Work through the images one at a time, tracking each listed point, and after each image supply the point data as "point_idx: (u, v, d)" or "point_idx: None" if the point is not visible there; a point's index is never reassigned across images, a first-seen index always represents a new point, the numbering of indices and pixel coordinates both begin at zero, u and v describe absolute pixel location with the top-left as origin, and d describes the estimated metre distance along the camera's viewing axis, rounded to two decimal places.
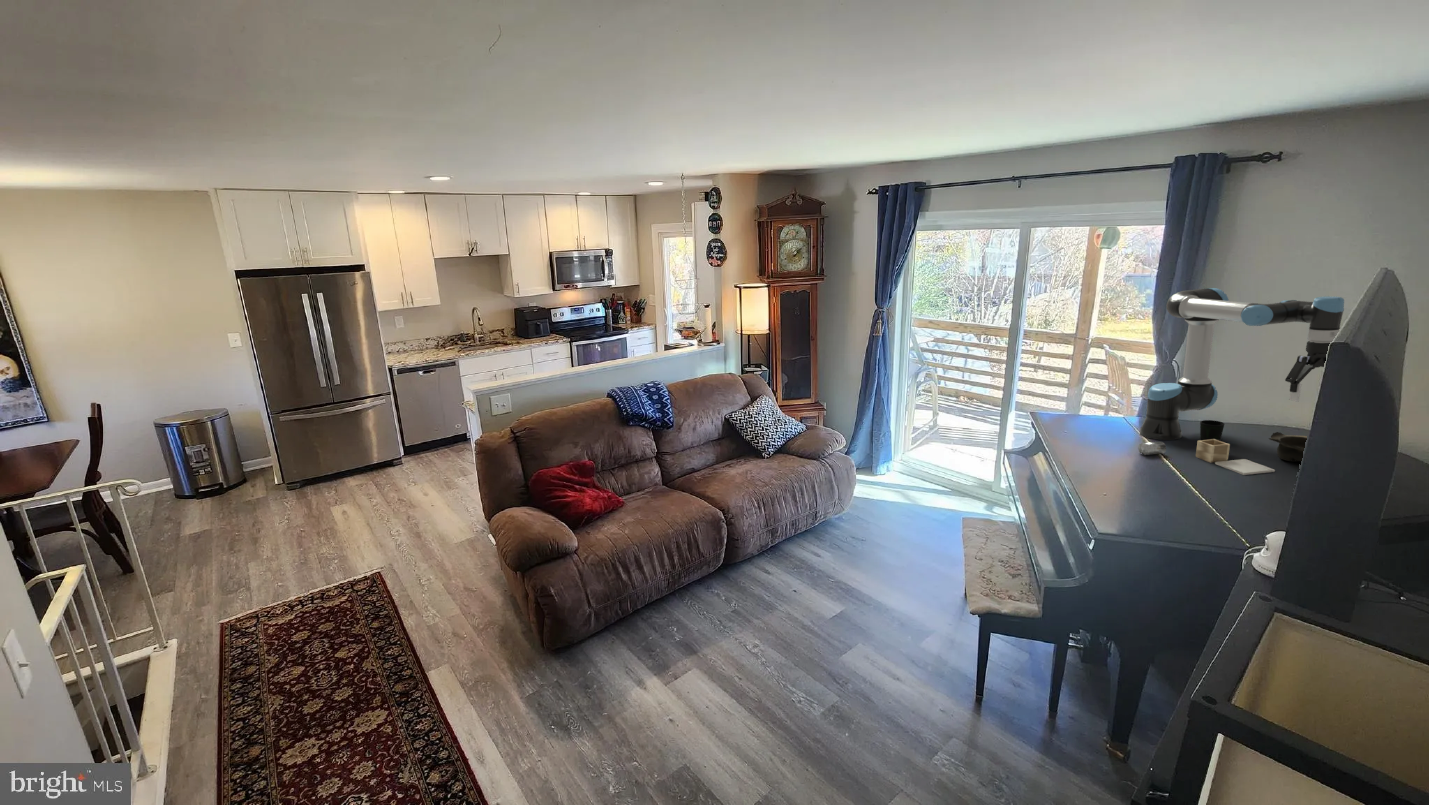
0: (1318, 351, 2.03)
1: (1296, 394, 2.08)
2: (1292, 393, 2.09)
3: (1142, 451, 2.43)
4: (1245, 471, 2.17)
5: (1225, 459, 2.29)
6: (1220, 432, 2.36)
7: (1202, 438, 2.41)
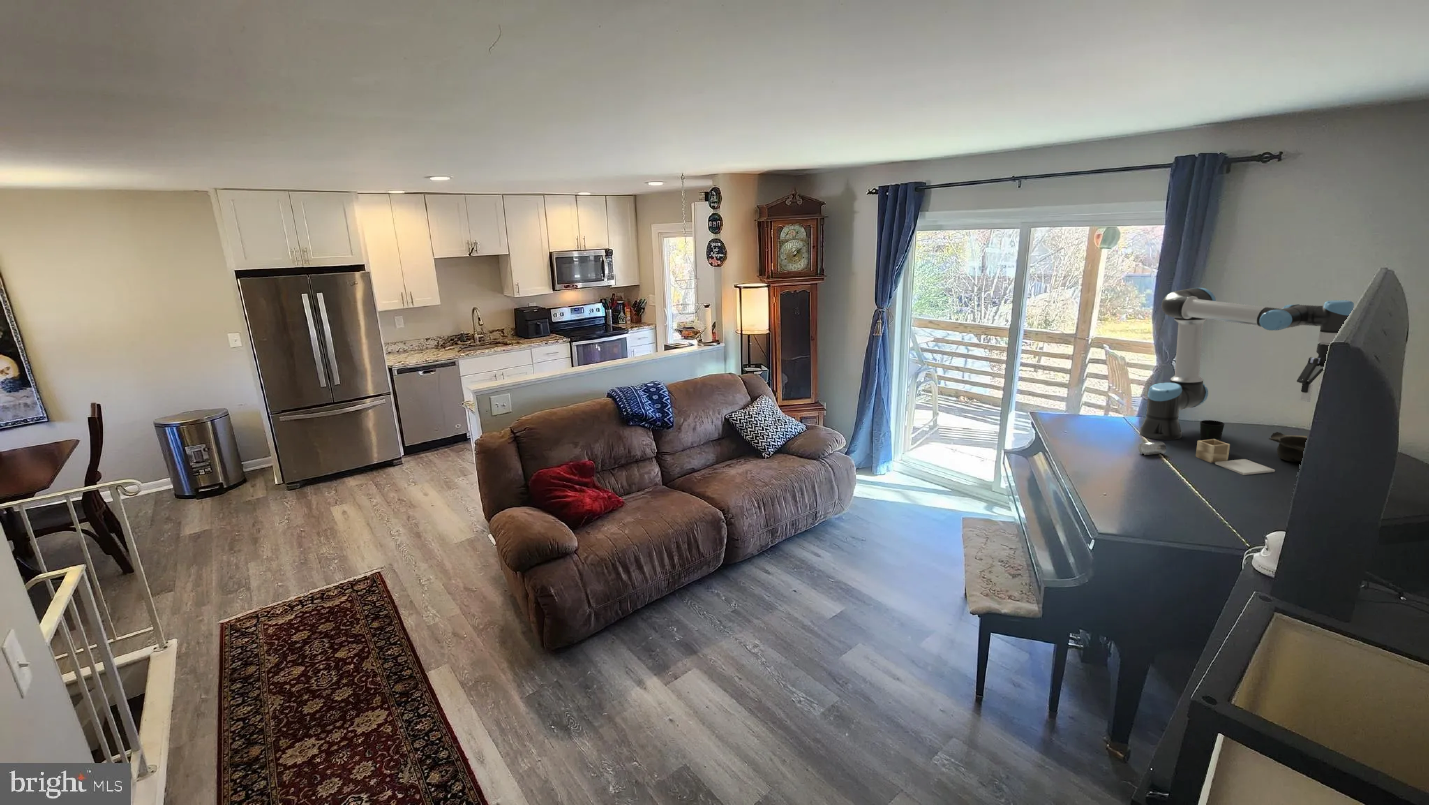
0: None
1: (1307, 395, 2.15)
2: (1303, 393, 2.17)
3: (1142, 451, 2.43)
4: (1245, 471, 2.17)
5: (1225, 459, 2.29)
6: (1220, 432, 2.36)
7: (1202, 438, 2.41)
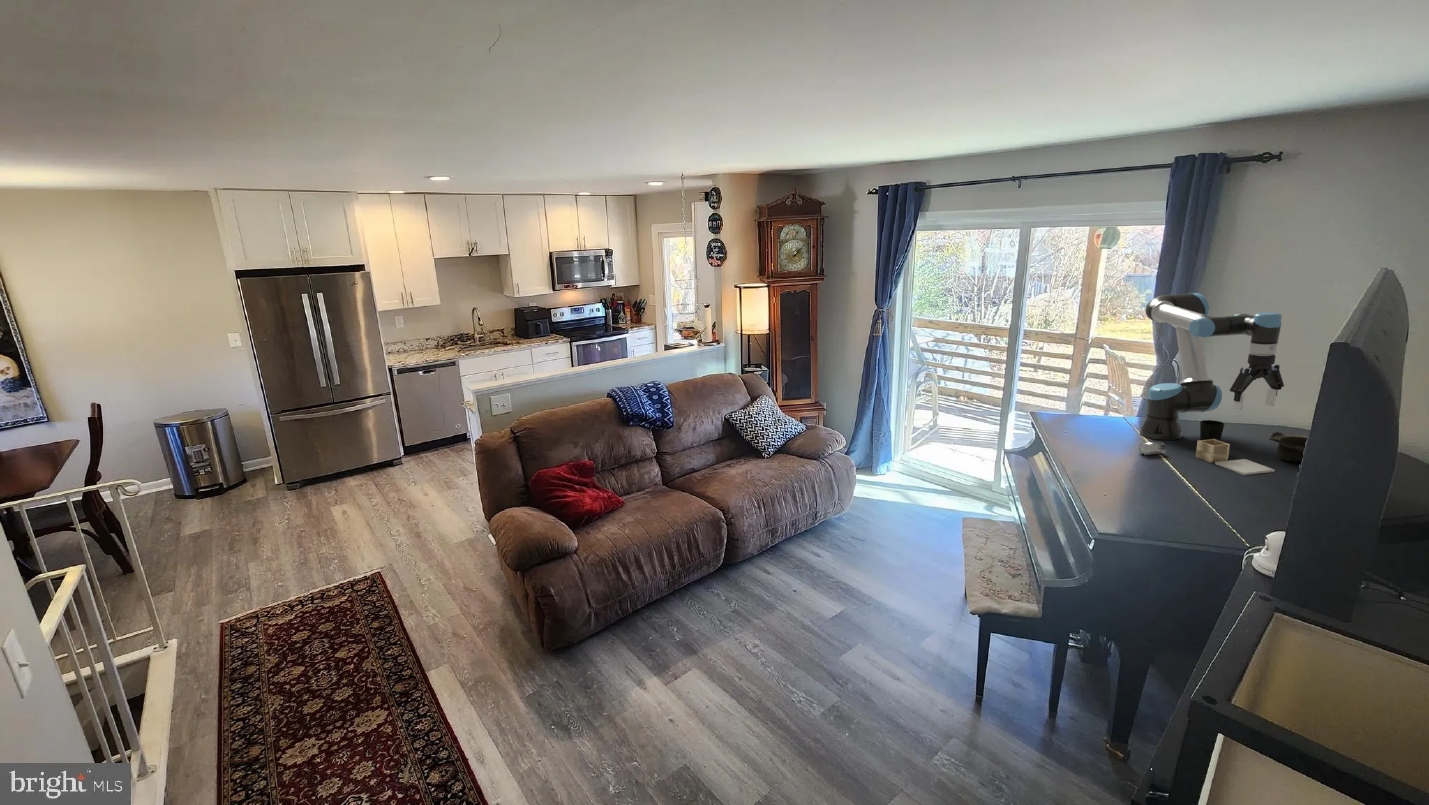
0: (1258, 363, 2.18)
1: (1239, 404, 2.22)
2: (1236, 402, 2.24)
3: (1142, 451, 2.43)
4: (1245, 471, 2.17)
5: (1225, 459, 2.29)
6: (1220, 432, 2.36)
7: (1202, 438, 2.41)
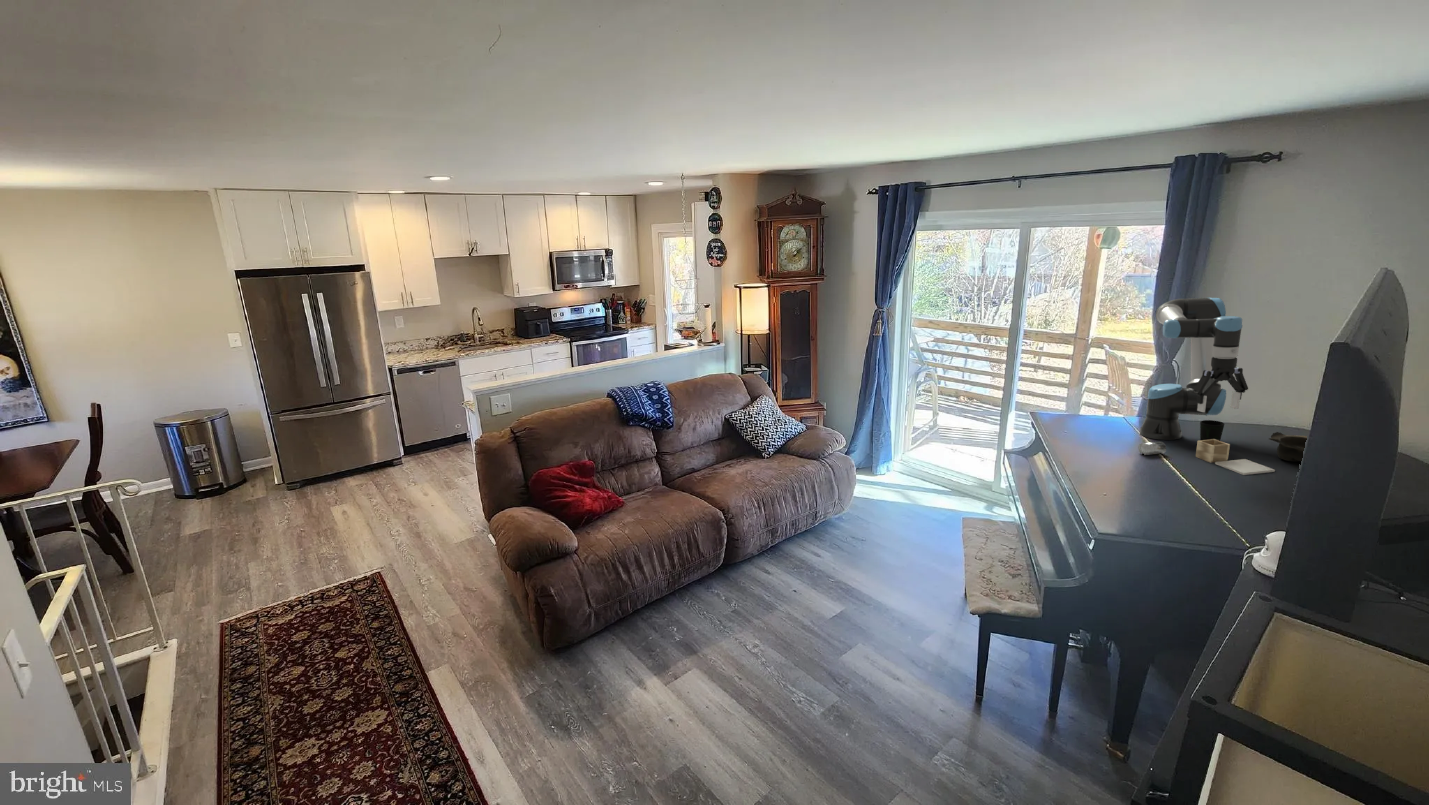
0: (1220, 366, 2.21)
1: (1202, 406, 2.26)
2: (1199, 404, 2.28)
3: (1142, 451, 2.43)
4: (1245, 471, 2.17)
5: (1225, 459, 2.29)
6: (1220, 432, 2.36)
7: (1202, 438, 2.41)
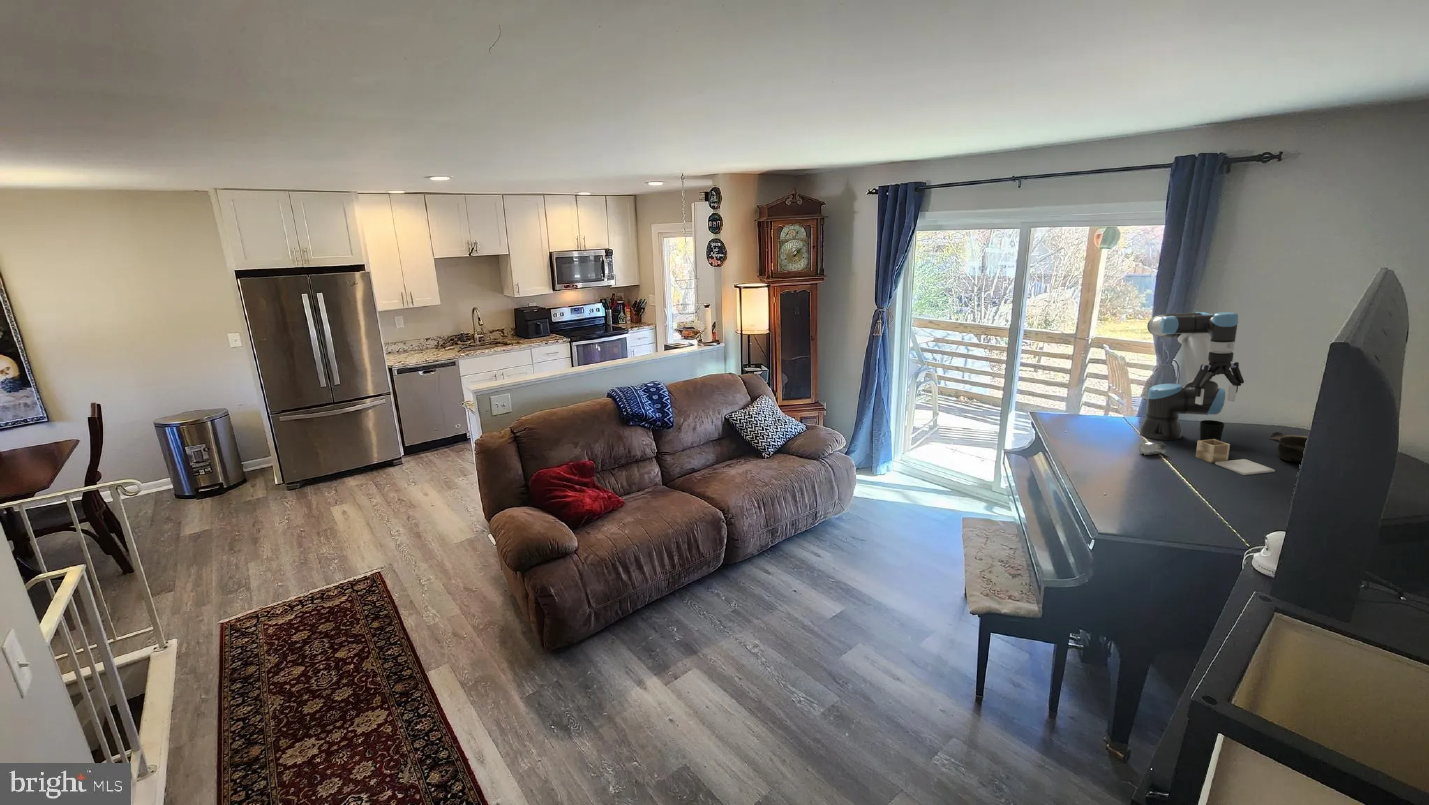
0: (1217, 360, 2.30)
1: (1200, 399, 2.35)
2: (1197, 397, 2.36)
3: (1142, 451, 2.43)
4: (1245, 471, 2.17)
5: (1225, 459, 2.29)
6: (1220, 432, 2.36)
7: (1202, 438, 2.41)
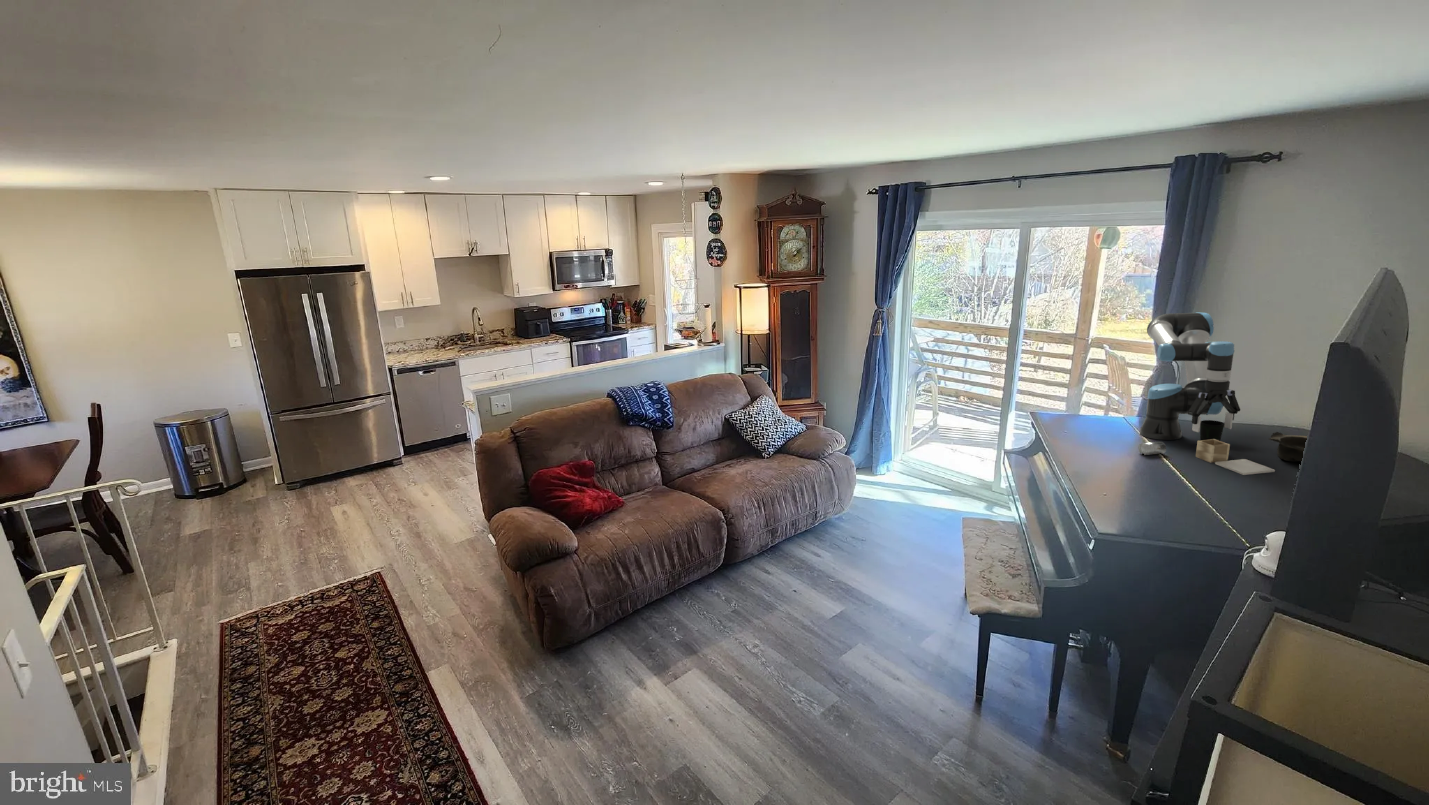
0: (1213, 389, 2.33)
1: (1197, 426, 2.38)
2: (1194, 425, 2.39)
3: (1142, 451, 2.43)
4: (1245, 471, 2.17)
5: (1225, 459, 2.29)
6: (1220, 432, 2.36)
7: (1202, 438, 2.41)
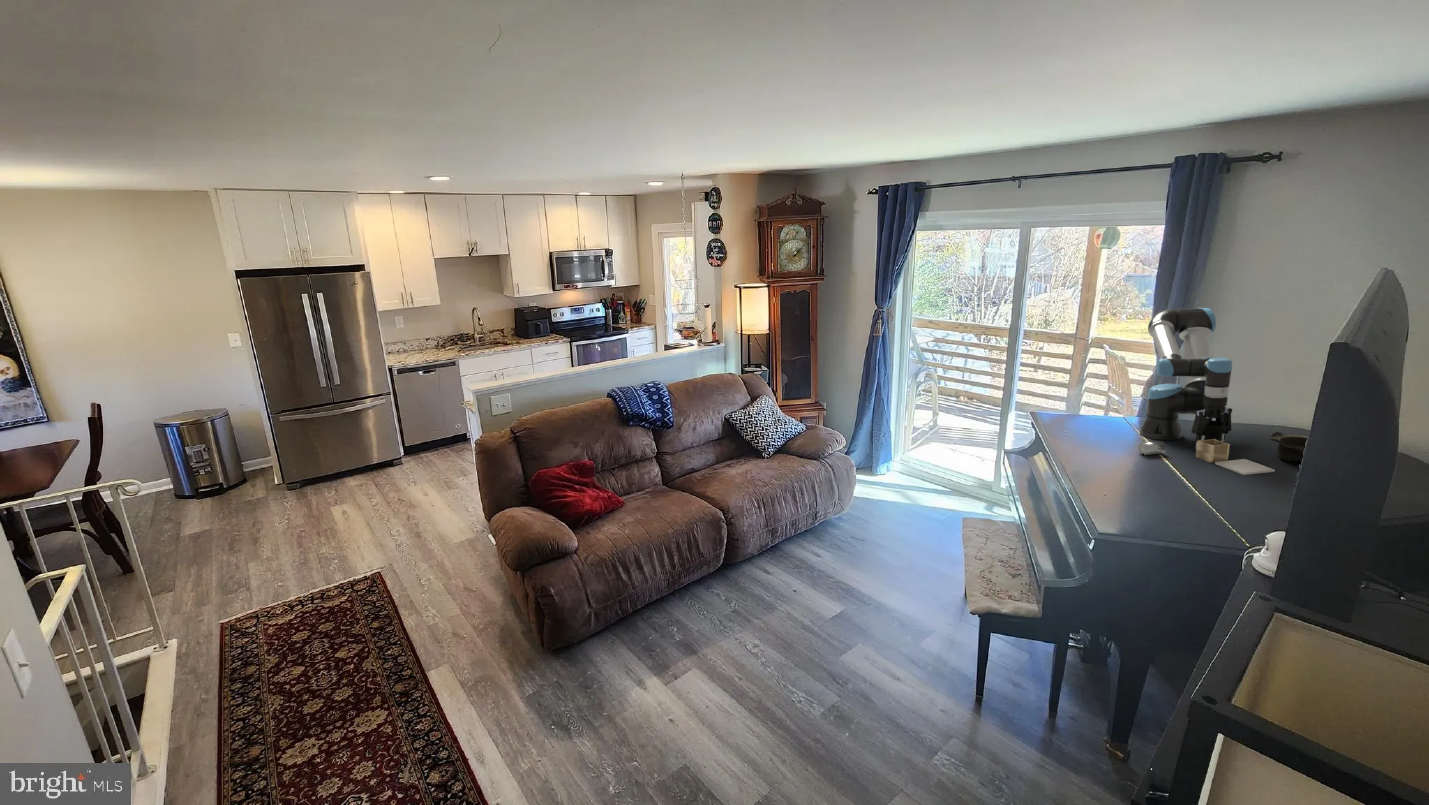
0: (1211, 405, 2.35)
1: None
2: None
3: (1142, 451, 2.43)
4: (1245, 471, 2.17)
5: (1225, 459, 2.29)
6: (1220, 432, 2.36)
7: None
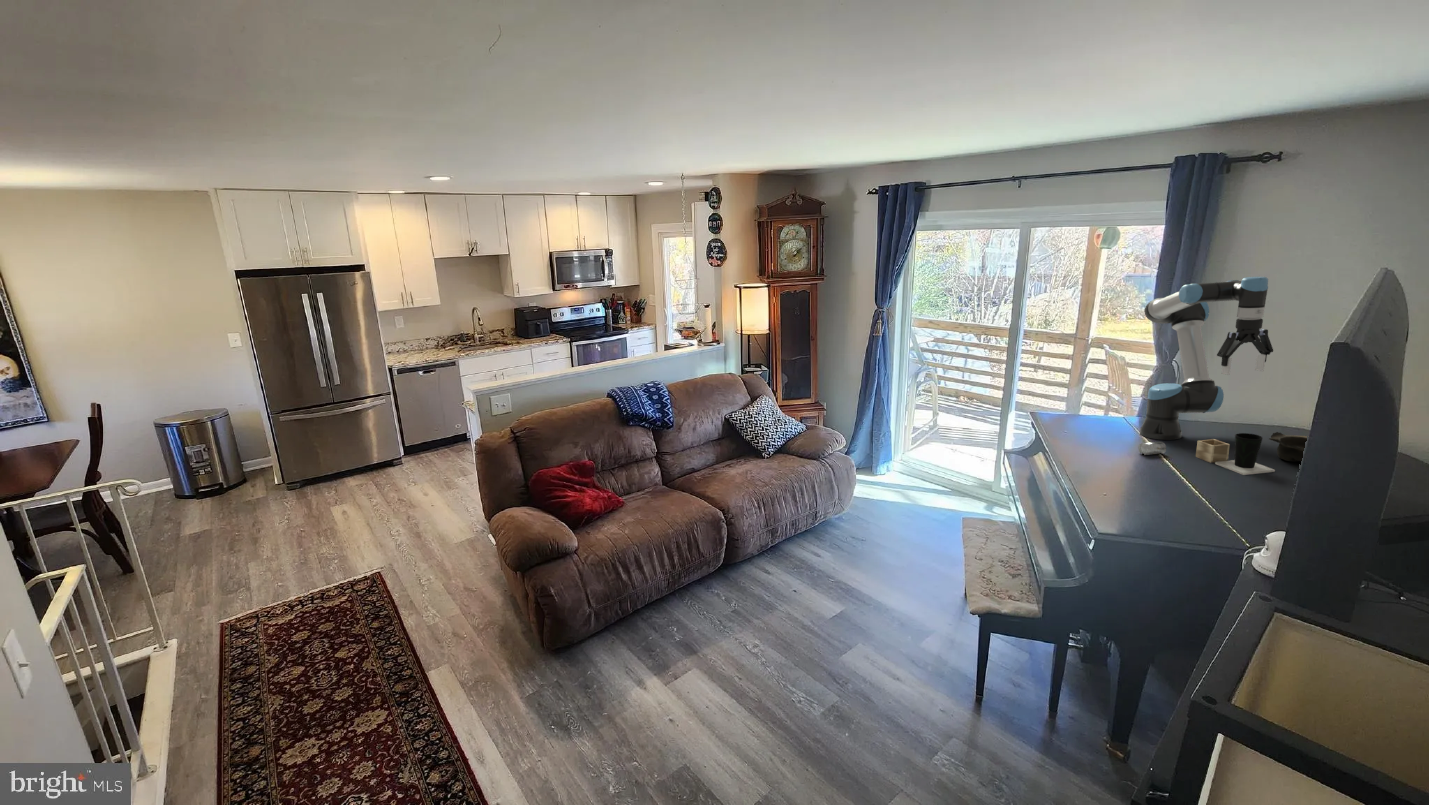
0: (1245, 327, 2.19)
1: (1227, 368, 2.24)
2: (1223, 367, 2.25)
3: (1142, 451, 2.43)
4: (1245, 471, 2.17)
5: (1225, 459, 2.29)
6: (1258, 447, 2.17)
7: (1237, 453, 2.21)
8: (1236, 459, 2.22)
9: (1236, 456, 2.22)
